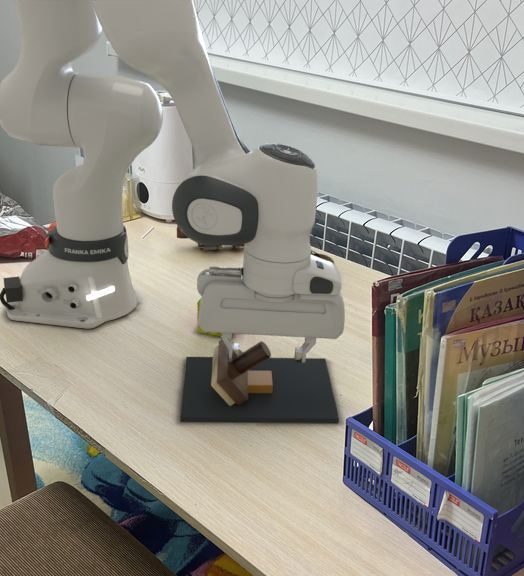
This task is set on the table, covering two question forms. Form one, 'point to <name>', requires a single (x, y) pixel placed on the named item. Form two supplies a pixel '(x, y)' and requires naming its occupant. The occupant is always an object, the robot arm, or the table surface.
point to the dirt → (260, 382)
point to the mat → (263, 394)
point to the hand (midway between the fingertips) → (267, 358)
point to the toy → (206, 247)
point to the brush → (235, 371)
